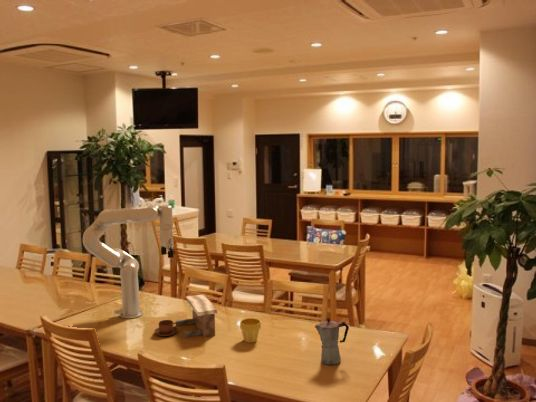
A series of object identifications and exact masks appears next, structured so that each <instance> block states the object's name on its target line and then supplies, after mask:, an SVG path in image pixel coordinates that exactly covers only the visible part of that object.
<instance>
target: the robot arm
mask: <svg viewBox="0 0 536 402" xmlns="http://www.w3.org/2000/svg"><path fill="white" fill-rule="evenodd" d="M157 218H158V219H159V220H158V221H159V241H158V242H159V245H160V254H161V255H163V256H164V255H167V258H168V259H171V258H174V246H175V245H174V234H173V229H174V224H173V223H174V220H173V218H174V217H173V207H172V205H169V204H166V205H165V204H164V205H163V204H162V205H156V204H150V205H148V206H147V207H143V208H130V207H129V208H127V207H125V208H124V207H123V208H118V209H110V208H109V209H106V208H105V209H103V210H102V211H100V212H99V214H98V215H97V218H96V219H95V220H94V221H93V223H91V225H90V226H88V227H87V228H86V229H85V230H84V232H83V234H82V245H83V247H84V248H85V250H86V251H88V252H89V253H90V254H92V255H93V256H94V257H96V258H97V259H99V261H101V262H103V263H105V265H107V266H109V267H110V268H117V267H118V268H120V270H119V276H120V277H119V278H120V283H121V303H122V304H121V305H122V306H121V308H120V309H115V310H114V309H113V310H114V311H113V312H114V314H116V315H118V314H119V316H120V318H122V319H127V320H128V319H129V320H130V319H136V318H139V317H142V316H143V311H142V310H140V291H139V289H140V288H139V277H138V276H139V273H138V272H139V269H140V264H139V263H140V262H138V260H137V259H136V258H135V257H133V256H132V255H130V254H129V253H128V252H126V251H125V250H123V249H121V248H118V247H113V248H111V247H109V246H108V245H107V244H105V243H104V242H101V241H100V238H102V236H103V235H104V233H106V231H107V230H108V229H109V228H110V226H114V225H115V226H116V225H121V224H133V223H141V222H149V221H150V222H151V221H153V220H156V219H157Z"/></svg>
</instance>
